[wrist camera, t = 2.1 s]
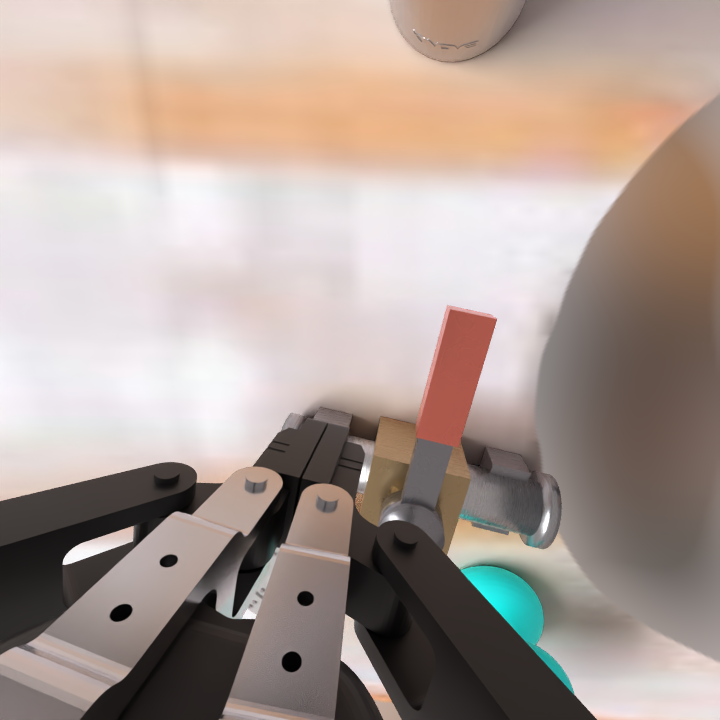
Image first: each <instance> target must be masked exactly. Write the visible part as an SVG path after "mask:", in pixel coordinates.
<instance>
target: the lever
mask: <svg viewBox="0 0 720 720" xmlns="http://www.w3.org/2000/svg"><path fill="white" fill-rule="evenodd" d="M496 321H497V319H496V318H495V317H493V316H492V315H491V314H486V313H481V312H477V311H472V310H467V309H463V308H458V307H453V306H449V305H447V307H446V311H445V315H444V319H443V323H442V326H441V330H440V334H439V338H438V342H437V346H436V349H435V353H434V357H433V361H432V365H431V368H430V372H429V376H428V380H427V384H426V387H425V391H424V395H423V399H422V403H421V407H420V410H419V414H418V418H417V422H416V441H415V445H414V448H413V452H412V456H411V460H410V463H409V467H408V471H407V475H406V478H405V482H404V486H403V490H399V491H396V492H394V493H392V494H390V495H389V496H388V497H387V498H386V499H385V500H384V501H383V503H382V505H381V508H380V513H379V521H378V527H379V526H380V525H381V524H383V523H384V522H387V521H391V520H402V521H406V522H409V523H412V524H414V525H416V526H418V527H419V528H421V529H422V530H423V531H424V532H425V533H426V534H427V535H428V536H429V537H430V538H431V539H432V540H433V541H434V542H435V543H436V544H437V546H438V547H439V548H440V549H441V550H443V548H444V544H445V535H444V527H443V519H442V512H441V509H440V507H439V505H438V503H437V500H438V497H439V493H440V490H441V487H442V483H443V480H444V477H445V473H446V470H447V467H448V463H449V460H450V456H451V453H452V450H453V446H454V447H459V444H460V440H461V437H462V434H463V430H464V427H465V424H466V420H467V417H468V414H469V411H470V407H471V404H472V401H473V397H474V394H475V391H476V387H477V384H478V381H479V377H480V374H481V371H482V368H483V364H484V361H485V358H486V354H487V351H488V348H489V344H490V341H491V338H492V335H493V331H494V328H495V325H496Z"/></svg>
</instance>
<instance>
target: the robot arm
mask: <svg viewBox="0 0 720 720" xmlns="http://www.w3.org/2000/svg"><path fill="white" fill-rule="evenodd" d="M525 2H526V0H390V5H391V11H392V14H393V17H394V20H395V22H396V25H397V27H398V29H399V30H400V32H401V34H402V35H403V37H404V38H405V40H406V41H407V42H408V43H409V44H410V45H411V46H412V47H413V48H414V49H415V50H417V51H418V52H420V53H422V54H423V55H425V56H427V57H429V58H432V59H436V60H439V61H450V62H456V61H461V60H467V59H471V58H473V57H475V56H477V55H480V54H482V53H484V52H485V51H487V50H488V49H490V48H491V47H492V46H494V45H495V44H497V43H498V42H499V41H500V40H501V39H502V38H503V37H504V36H505V34H506V33H507V32H508V31H509V30H510V29H511V27H512V26H513V24H514V23H515V21H516V20H517V18H518V17H519V15H520V13H521V11H522V8H523V6H524V4H525ZM349 430H350V428H349V427H345V426H341V425H337V424H333V423H329V424H328V422H324V421H320V420H316V419H311V418H307V419H306V421H305V422H304V424H303V425H302V427H301V428H300V430H297V429H293V428H287V429H285V430H283V431H281V432H279V433H278V434H277V435H276V437H275V438H274V439H273V441H272V442H271V443H270V444H269V446H268V448H266V450H265V451H264V452H263V454H262V455H261V456H260V458H259V459H258V460H257V462H256V463H255V464H254V465H253V467H246V468H243V469H240V470H238V471H236V472H234V473H233V474H232V475H231V476H230V477H229V478H228V479H227V480H226V481H225V482H224V483H196V481H197V474H196V472H195V470H194V469H193V468H192V467H190V466H188V465H185V464H182V463H175V462H166V463H159V464H155V465H151V466H146V467H142V468H138V469H134V470H130V471H125V472H121V473H117V474H113V475H109V476H104V477H100V478H96V479H92V480H88V481H83V482H79V483H75V484H71V485H67V486H62V487H58V488H54V489H50V490H46V491H41V492H37V493H33V494H29V495H25V496H20V497H16V498H12V499H8V500H4V501H0V720H383V718H382V716H381V714H380V712H379V710H378V708H377V706H376V704H375V702H374V700H373V698H372V697H371V695H370V693H369V692H368V690H367V689H366V687H365V685H364V684H363V683H362V682H361V680H360V679H359V678H358V676H357V675H356V674H355V673H354V672H353V671H352V670H351V669H350V668H349V667H348V666H347V665H346V664H345V663H344V662H342V661H341V660H340V659H341V649H342V639H343V629H344V619H345V614H346V615H348V616H350V617H351V618H353V619H354V628H355V632H356V635H357V637H358V639H359V641H360V643H361V645H362V647H363V648H364V650H365V652H366V654H367V656H368V658H369V660H370V661H371V663H372V665H373V667H374V669H375V671H376V673H377V674H378V676H379V678H380V680H381V682H382V684H383V685H384V687H385V689H386V691H387V693H388V695H389V697H390V698H391V700H392V702H393V704H394V706H395V707H396V709H397V711H398V713H399V715H400V717H401V719H402V720H597V719H596V718H595V717H594V716H593V715H592V714H591V713H590V712H589V710H588V709H587V708H586V707H585V706H584V705H583V704H582V703H581V702H580V701H579V700H578V698H577V697H576V696H575V695H574V694H573V693H572V692H571V691H570V690H569V689H568V688H567V686H566V685H565V684H564V683H563V682H562V681H561V680H560V679H559V678H558V677H557V675H556V674H555V673H554V672H553V671H552V670H551V669H550V668H549V667H548V666H547V665H546V663H545V662H544V661H543V660H542V659H541V658H540V657H539V656H538V655H537V654H536V653H535V651H534V650H533V649H532V648H531V647H530V646H529V645H528V644H527V643H526V642H525V641H524V639H523V638H522V637H521V636H520V635H519V634H518V633H517V632H516V631H515V630H514V629H513V627H512V626H511V625H510V624H509V623H508V622H507V621H506V620H505V619H504V618H503V617H502V615H501V614H500V613H499V612H498V611H497V610H496V609H495V608H494V607H493V606H492V604H491V603H490V602H489V601H488V600H487V599H486V598H485V597H484V596H483V595H482V594H481V592H480V591H479V590H478V589H477V588H476V587H475V586H474V585H473V584H472V583H471V582H470V580H469V579H468V578H467V577H466V576H465V575H464V574H463V573H462V572H461V571H460V570H459V568H458V567H457V566H456V565H455V564H454V563H453V562H452V561H451V560H450V559H449V558H448V556H447V555H446V554H445V553H444V552H443V551H442V550H441V549H440V548H439V547H438V546H437V544H436V543H435V542H434V541H433V540H432V539H431V538H430V537H429V536H428V535H427V534H426V533H425V532H424V531H423V530H422V529H421V528H419V527H418V526H416V525H414V524H412V523H409V522H406V521H402V520H391V521H387V522H384V523H383V524H381V525H380V526H379V527H377V526H376V525H374V524H372V523H370V522H368V521H367V520H366V519H364V518H363V517H362V516H361V515H360V513H359V512H358V510H357V509H356V506H355V498H356V493H357V489H358V485H359V480H360V476H361V471H362V467H363V463H364V458H365V452H364V450H363V448H362V446H361V445H359V444H355V443H351V442H347V440H348V436H349ZM131 526H134V534H133V542H130V543H128V544H125V545H122V546H119V547H116V548H114V549H111V550H108V551H105V552H102V553H100V554H97V555H94V556H91V557H89V558H86V559H83V560H80V561H77V562H75V563H72V564H68V565H62V563H63V559H64V557H65V555H66V554H67V553H68V552H69V551H70V550H71V549H72V548H73V547H75V546H77V545H78V544H80V543H83V542H86V541H89V540H92V539H95V538H98V537H101V536H104V535H107V534H110V533H113V532H116V531H119V530H122V529H125V528H128V527H131ZM276 548H280V549H279V552H278V555H277V558H276V561H275V564H274V567H273V569H272V572H271V575H270V578H269V581H268V584H267V587H266V590H265V593H264V596H263V599H262V602H261V604H260V607H259V610H258V613H257V616H256V619H242V617H243V615H244V613H245V611H246V610H247V608H248V606H249V604H250V602H251V601H252V599H253V597H254V595H255V594H256V592H257V590H258V588H259V586H260V585H261V583H262V581H263V579H264V578H265V576H266V574H267V572H268V570H269V565H270V560H271V558H272V556H273V554H274V552H275V550H276Z"/></svg>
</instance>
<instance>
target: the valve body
mask: <svg viewBox="0 0 720 720" xmlns="http://www.w3.org/2000/svg"><path fill="white" fill-rule="evenodd" d="M313 419H316V420H320V421H324V422H328V424H329V423H333V424H337V425H341V426H345V427H349V428H350V424H351V419H352V415H351V414H347V413H343V412H339V411H334V410H330V409H326V408H322V407H320V408H319V410H318V411H317V413H316V415H315V416H314V418H313ZM305 421H306V419H305V416H303V415H299V414H295V413H291V414H290V415H289V416H288V418H287V419H286V421H285V423H284V425H283V427H282V430H281V431H283V430H285V429H287V428H293V429H297V430H300V428H301V427H302V425H303V424H304V422H305ZM415 441H416V424H412V423H407V422H403V421H399V420H395V419H390V418H386V417H382V416H381V418H380V422H379V426H378V431H377V435H376V439H375V441H372V440H367V439H363V438H359V437H355V436H351V435H349V436H348V440H347V442H351V443H355V444H359V445H361V446H362V448H363V450H364V452H365V458H364V463H363V467H362V471H361V476H360V480H359V485H358V489H357V493H360V494H363V497H362V502H361V507H360V512H359V513H360V515H361V516H362V517H363V518H364V519H366V520H367V521H368V522H370V523H372V524H374V525H376V526H377V527H378V521H379V513H380V508H381V505H382V503H383V501H384V500H385V499H386V498H387V497H388V496H389V495H390V494H392V493H394V492H396V491H399V490H403V486H404V482H405V478H406V475H407V471H408V467H409V463H410V460H411V456H412V452H413V448H414V445H415ZM437 503H438V505H439V507H440V509H441V512H442V519H443V527H444V535H445V544H444V548H443V550H442V551H443V552H444V553H445V554H446V555H447V553H448V550H449V547H450V544H451V541H452V538H453V534H454V531H455V528H456V525H457V522H458V519H463V520H467V521H471V523H472V526H474V527H478V528H482V529H486V530H490V531H494V532H498V533H502V534H506V535H508V534H509V531H510V532H514V533H518V534H519V535H520V537H521V540H522V541H523V542H524V544H526V545H528V546H531V547H535V548H539V549H546V548H548V547H549V546H550V545H551V544H552V542H553V541H554V539H555V537H556V535H557V532H558V529H559V525H560V519H561V496H560V491H559V487H558V485H557V482H556V480H555V479H554V478H553V477H552V476H551V475H548V474H544V473H540V472H536V471H533V472H531V473H530V471H529V469H528V468H527V466H526V464H525V462H524V460H523V459H522V457H521V455H519V454H515V453H511V452H507V451H502V450H498V449H494V448H490V447H486V448H485V451H484V454H483V457H482V460H481V463H480V466H475V465H471V464H467V462H466V458H465V455H464V451H463V447H462V444H461V440H460V444H459V447H454V446H453V450H452V453H451V456H450V460H449V463H448V467H447V470H446V473H445V477H444V480H443V483H442V487H441V490H440V493H439V497H438V500H437Z"/></svg>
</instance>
